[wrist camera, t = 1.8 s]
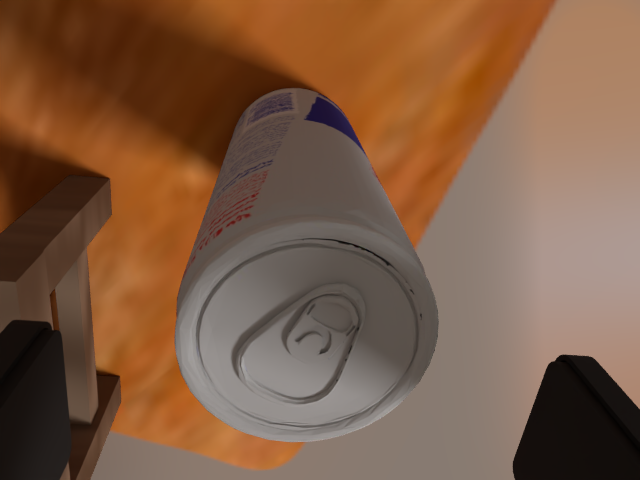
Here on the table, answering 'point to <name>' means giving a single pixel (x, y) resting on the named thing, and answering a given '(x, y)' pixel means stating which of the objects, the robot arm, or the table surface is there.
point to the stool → (64, 301)
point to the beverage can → (301, 282)
